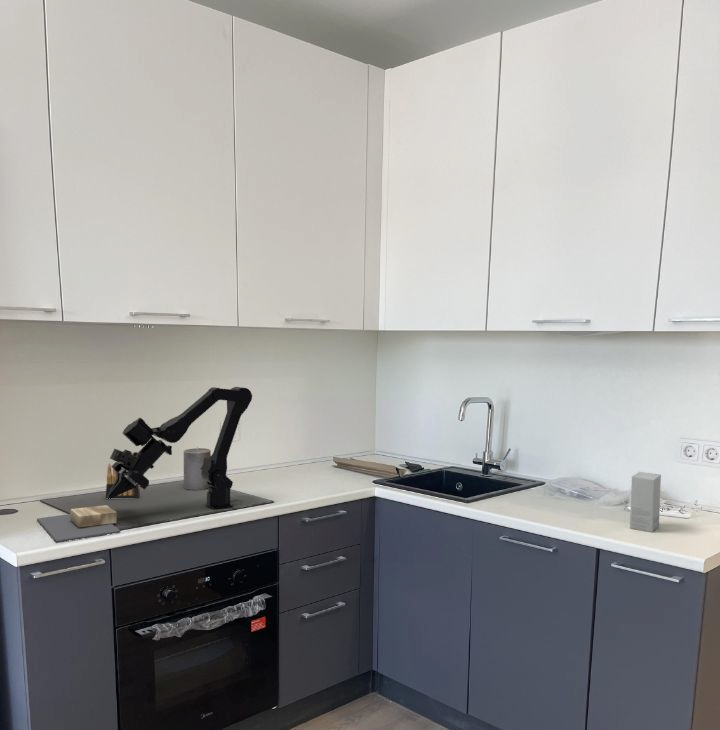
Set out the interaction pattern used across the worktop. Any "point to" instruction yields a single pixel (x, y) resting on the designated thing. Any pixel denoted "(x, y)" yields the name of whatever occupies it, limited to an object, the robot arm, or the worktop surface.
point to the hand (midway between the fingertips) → (108, 497)
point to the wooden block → (93, 516)
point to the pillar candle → (195, 468)
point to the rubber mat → (72, 528)
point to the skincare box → (645, 501)
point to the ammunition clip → (110, 482)
